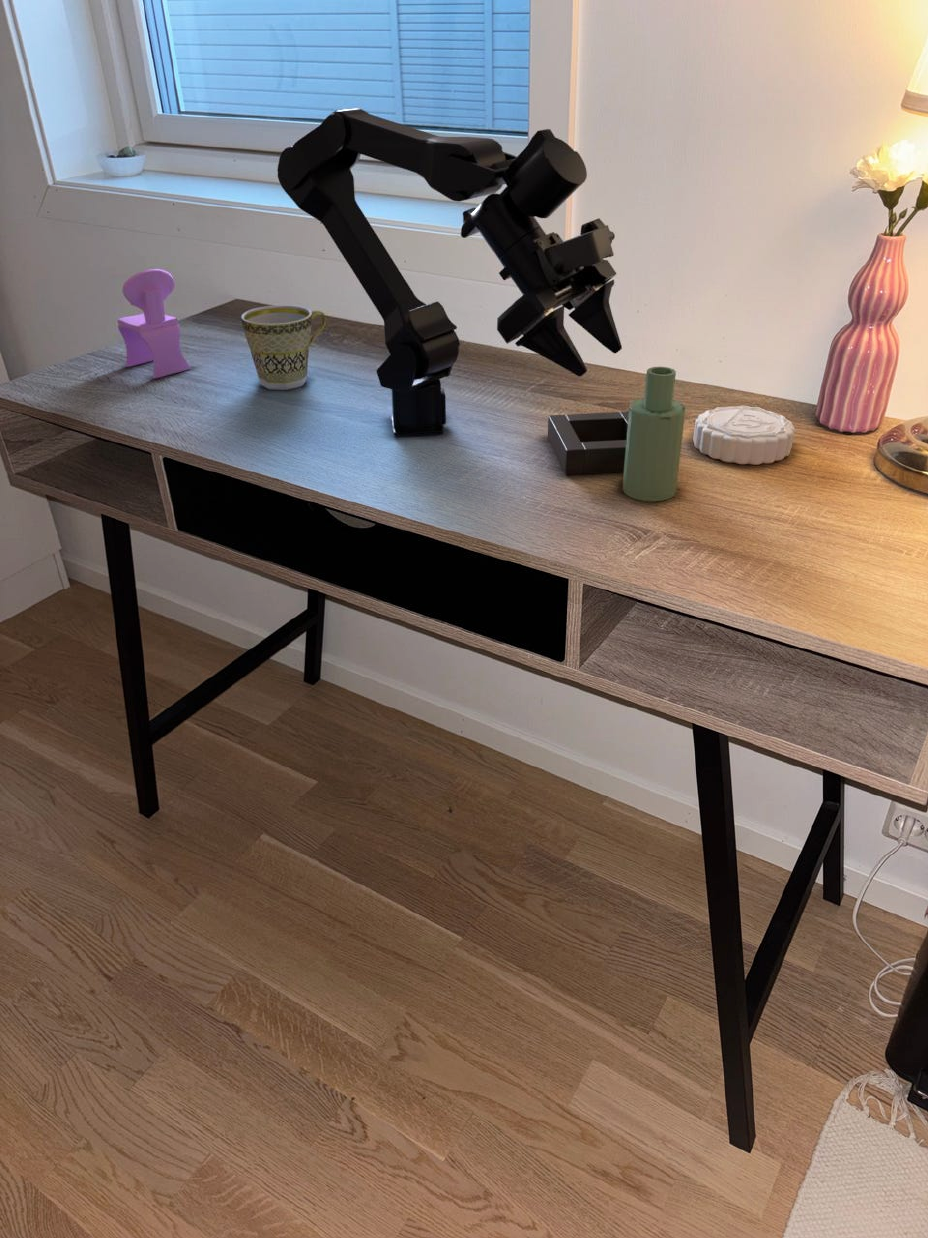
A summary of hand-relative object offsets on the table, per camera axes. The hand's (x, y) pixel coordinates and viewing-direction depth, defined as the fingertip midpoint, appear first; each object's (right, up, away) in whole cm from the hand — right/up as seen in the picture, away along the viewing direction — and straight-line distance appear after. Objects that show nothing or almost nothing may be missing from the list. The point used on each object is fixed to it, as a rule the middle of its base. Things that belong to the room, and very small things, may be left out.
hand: (601, 362), depth 109 cm
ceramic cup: (-41, +7, +36) cm, 55 cm away
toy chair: (-63, +10, +42) cm, 76 cm away
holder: (+2, -8, +12) cm, 15 cm away
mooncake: (+20, -7, +14) cm, 25 cm away
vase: (+6, -14, +3) cm, 15 cm away
